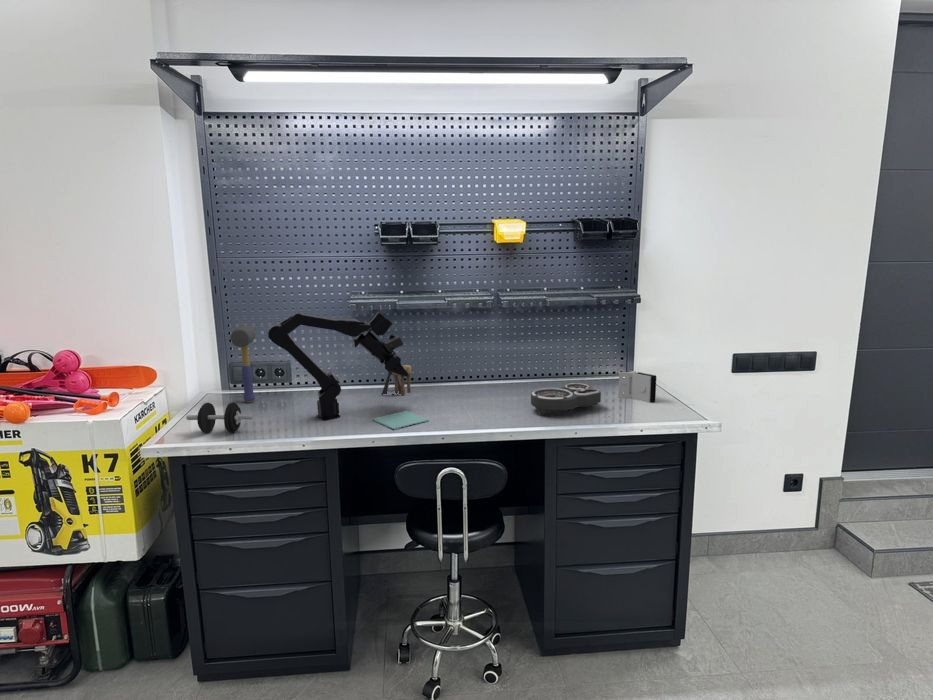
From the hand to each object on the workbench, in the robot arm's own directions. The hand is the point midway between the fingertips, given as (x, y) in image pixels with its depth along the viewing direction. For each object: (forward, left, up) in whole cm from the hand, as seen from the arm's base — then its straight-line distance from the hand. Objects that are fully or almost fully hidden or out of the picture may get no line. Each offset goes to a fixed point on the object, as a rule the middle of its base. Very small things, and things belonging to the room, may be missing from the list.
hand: (405, 373), depth 206 cm
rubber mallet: (-41, +50, -14) cm, 66 cm away
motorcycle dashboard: (+43, -39, -14) cm, 59 cm away
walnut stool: (-1, +1, -7) cm, 8 cm away
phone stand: (+8, +23, -14) cm, 27 cm away
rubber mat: (-9, -10, -13) cm, 19 cm away
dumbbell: (-60, +19, -14) cm, 65 cm away
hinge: (+73, -47, -14) cm, 88 cm away
